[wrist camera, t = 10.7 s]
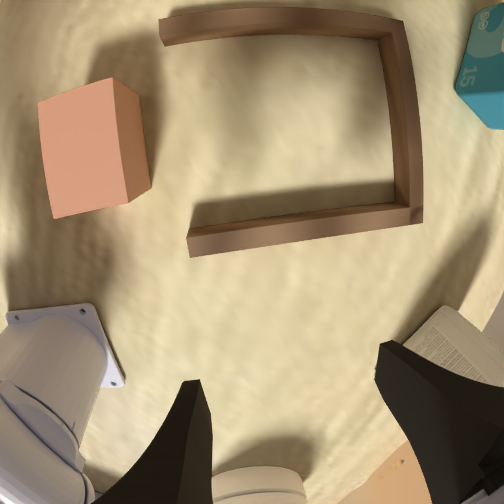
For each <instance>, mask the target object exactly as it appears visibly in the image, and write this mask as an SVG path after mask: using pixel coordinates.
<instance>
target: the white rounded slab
mask: <svg viewBox="0 0 504 504" xmlns="http://www.w3.org/2000/svg"><path fill="white" fill-rule="evenodd" d="M403 346H404V347H406V348H408V349H410V350H411V351H413V352H415V353H417V354H418V355H420V356H422V357H424V358H426V359H427V360H429V361H431V362H433V363H435V364H437V365H439V366H441V367H443V368H445V369H447V370H449V371H452V372H454V373H456V374H458V375H461V376H464V377H466V378H469V379H472V380H475V381H478V382H482V383H486V384H490V385H494V386H499V387H504V352H503V351H502V350H501V349H500V348H499V347H498V346H497V345H495V344H494V343H493V342H492V341H491V340H490V339H489V338H487V337H486V336H485V335H484V334H483V333H482V332H481V331H480V330H478V329H477V328H476V327H475V326H474V325H473V324H471V323H470V322H469V321H468V320H467V319H465V318H464V317H463V316H462V315H461V314H459V313H458V312H457V311H456V310H454V309H453V308H452V307H450V306H446V305H443V306H442V307H440V308H439V309H438V310H437V311H436V312H435V313H434V314H433V315H432V316H431V317H430V318H429V319H428V320H427V321H426V322H425V323H424V324H423V325H422V326H421V327H420V328H419V329H418V330H417V331H416V332H415V333H414V334H413V335H412V336H411V337H410V338H409V339H408V340H407V341H406V342H405V343H404V344H403ZM375 373H376V372H375ZM374 375H375V374H374Z"/></svg>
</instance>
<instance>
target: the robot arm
mask: <svg viewBox="0 0 504 504" xmlns="http://www.w3.org/2000/svg"><path fill="white" fill-rule="evenodd" d="M81 309H84V310H85V312H83V311H82V310H81ZM17 316H18V317H19V318H18V317H17ZM5 317H6V320H7V322H8V324H9V325H8V326H7V327H6V328H5V329H4V330H3V331H2V333H1V334H0V504H213V498H212V482H211V481H212V442H213V434H212V423H211V413H210V410H209V407H208V404H207V401H206V398H205V395H204V392H203V388H202V385H201V382H200V379H199V380H190V381H184V382H183V383H182V385H181V387H180V390H179V392H178V394H177V397H176V399H175V401H174V403H173V405H172V407H171V409H170V411H169V413H168V415H167V417H166V419H165V420H164V422H163V424H162V426H161V427H160V429H159V431H158V432H157V434H156V436H155V437H154V439H153V440H152V442H151V443H150V445H149V446H148V448H147V449H146V450H145V452H144V453H143V454H142V456H141V457H140V458H139V459H138V461H137V462H136V463H135V464H134V465H133V466H132V467H131V469H130V470H129V471H128V472H127V473H126V474H125V475H124V476H123V477H122V478H121V479H120V480H119V481H118V482H117V483H116V484H114V485H113V486H112V487H111V488H110V489H109V490H108V491H107V492H105V493H104V494H103V495H102V496H100V497H99V498H98V499H96V500H95V494H94V489H93V486H92V484H91V482H90V480H89V479H88V477H87V476H86V475H85V474H83V473H82V471H83V467H84V464H85V460H86V459H85V458H84V457H83V456H82V455H81V454H80V452H79V447H80V444H81V441H82V438H83V435H84V432H85V429H86V426H87V423H88V420H89V417H90V414H91V412H92V409H93V406H94V403H95V401H96V398H97V395H98V392H99V390H100V388H120V387H124V385H125V380H124V377H123V375H122V373H121V371H120V369H119V366H118V364H117V362H116V360H115V357H114V355H113V353H112V350H111V348H110V345H109V343H108V340H107V338H106V335H105V333H104V330H103V328H102V325H101V323H100V320H99V317H98V314H97V312H96V309H95V307H94V306H93V305H92V304H91V303H82V304H74V305H65V306H56V307H47V308H37V309H27V310H17V311H9V312H7V313H6V315H5ZM374 380H375V382H376V385H377V387H378V389H379V391H380V394H381V396H382V398H383V400H384V401H385V403H386V405H387V406H388V408H389V409H390V411H391V413H392V414H393V416H394V417H395V419H396V420H397V422H398V424H399V425H400V427H401V428H402V430H403V431H404V433H405V435H406V436H407V438H408V440H409V442H410V444H411V446H412V448H413V450H414V453H415V455H416V457H417V459H418V462H419V464H420V467H421V469H422V472H423V475H424V477H425V481H426V484H427V487H428V490H429V493H430V496H431V500H432V504H504V387H499V386H494V385H490V384H486V383H482V382H478V381H475V380H472V379H469V378H466V377H464V376H461V375H458V374H456V373H454V372H452V371H449V370H447V369H445V368H443V367H441V366H439V365H437V364H435V363H433V362H431V361H429V360H427V359H426V358H424V357H422V356H420V355H418V354H417V353H415V352H413V351H411V350H410V349H408V348H406V347H404V346H403V345H401V344H399V343H397V342H395V341H393V340H391V341H388V342H384V343H381V344H380V346H379V353H378V360H377V366H376V373H375V379H374ZM112 381H113V382H112ZM114 382H115V383H114Z"/></svg>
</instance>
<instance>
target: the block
mask: <svg viewBox="0 0 504 504" xmlns="http://www.w3.org/2000/svg"><path fill="white" fill-rule="evenodd" d="M38 119H39V131H40V141H41V150H42V158H43V165H44V171H45V178H46V184H47V189H48V195H49V200H50V205H51V210H52V214H53V219H57V218H61V217H65V216H70V215H74V214H78V213H83V212H87V211H92V210H97V209H101V208H106V207H111V206H116V205H121V204H126V203H129V202H131V201H132V200H134V199H135V198H137V197H138V196H140V195H141V194H143V193H145V192H146V191H148V190H149V189H151V182H150V176H149V169H148V163H147V156H146V148H145V141H144V133H143V125H142V116H141V106H140V96H139V95H138V94H137V93H135V92H134V91H132V90H131V89H129V88H128V87H126V86H125V85H123V84H122V83H121V82H119V81H118V80H116V79H115V78H113V77H111V78H107V79H104V80H100V81H97V82H94V83H91V84H87V85H84V86H81V87H78V88H75V89H72V90H70V91H67V92H64V93H61V94H59V95H56V96H53V97H51V98H48V99H46V100H43V101H41V102H38Z"/></svg>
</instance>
